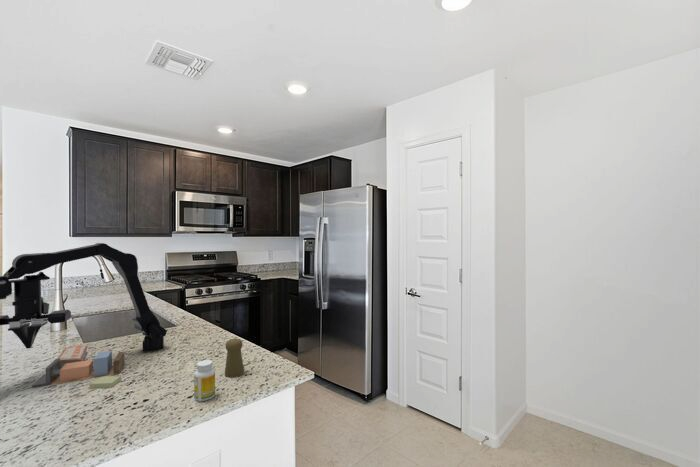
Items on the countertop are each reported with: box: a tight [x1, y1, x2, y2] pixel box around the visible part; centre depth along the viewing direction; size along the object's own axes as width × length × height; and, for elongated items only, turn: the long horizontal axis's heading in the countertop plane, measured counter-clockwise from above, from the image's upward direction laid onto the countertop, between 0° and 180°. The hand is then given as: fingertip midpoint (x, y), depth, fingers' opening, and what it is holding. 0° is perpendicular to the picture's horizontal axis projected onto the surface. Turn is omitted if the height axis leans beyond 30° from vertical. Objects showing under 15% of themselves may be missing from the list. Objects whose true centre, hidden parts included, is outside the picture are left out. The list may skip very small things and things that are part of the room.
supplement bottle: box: [193, 359, 216, 402], centre depth 91 cm, size 5×5×10 cm
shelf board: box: [30, 351, 125, 389], centre depth 103 cm, size 22×8×6 cm, turn 115°
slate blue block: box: [93, 350, 113, 376], centre depth 105 cm, size 4×6×6 cm, turn 25°
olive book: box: [89, 375, 122, 389], centre depth 96 cm, size 6×4×3 cm
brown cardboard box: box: [60, 359, 94, 382], centre depth 102 cm, size 7×6×4 cm
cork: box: [224, 338, 245, 378], centre depth 105 cm, size 6×6×11 cm
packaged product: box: [57, 344, 93, 369], centre depth 114 cm, size 18×5×10 cm
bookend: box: [31, 357, 60, 388], centre depth 99 cm, size 4×8×5 cm, turn 25°
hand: (29, 348), depth 97 cm, fingers closed
